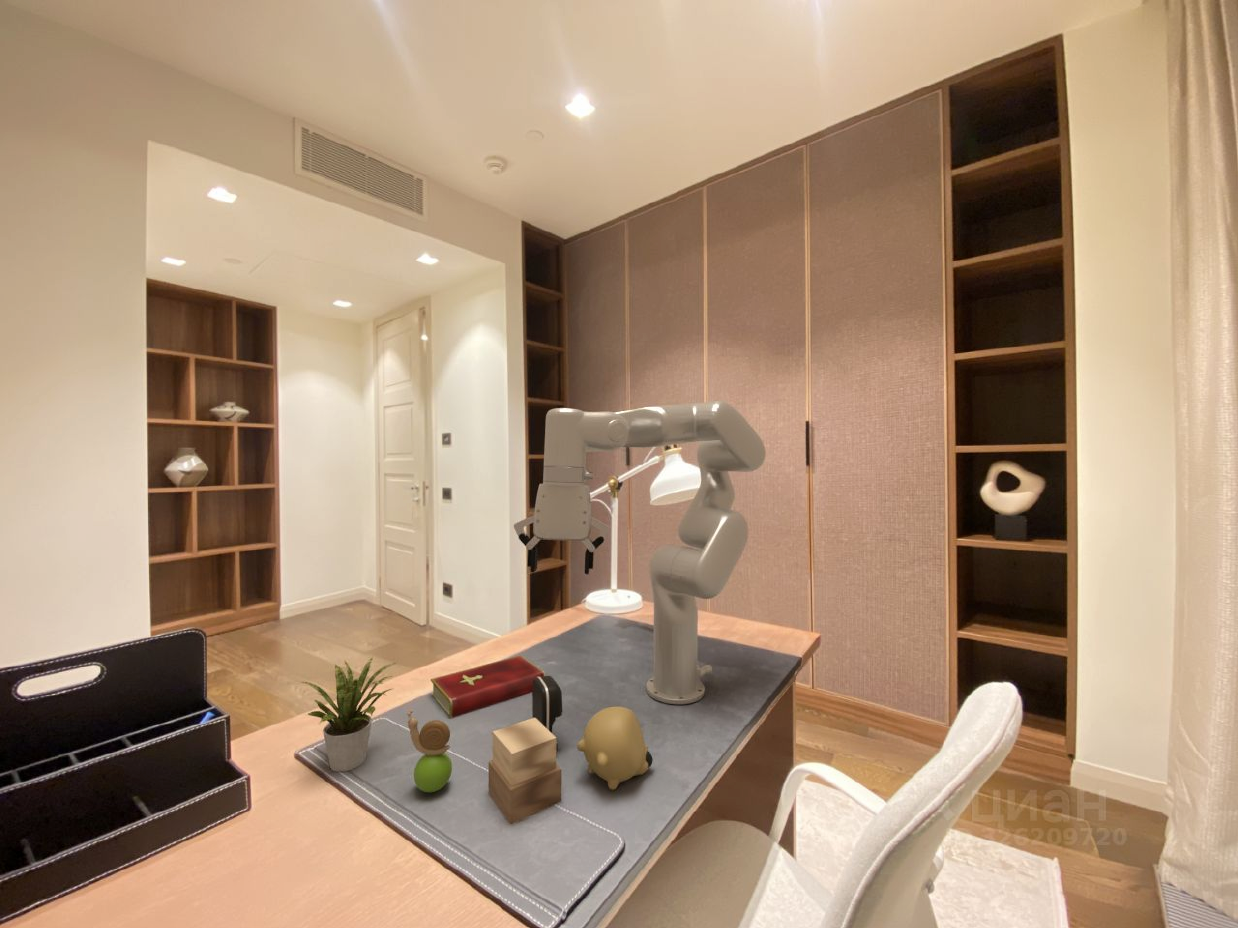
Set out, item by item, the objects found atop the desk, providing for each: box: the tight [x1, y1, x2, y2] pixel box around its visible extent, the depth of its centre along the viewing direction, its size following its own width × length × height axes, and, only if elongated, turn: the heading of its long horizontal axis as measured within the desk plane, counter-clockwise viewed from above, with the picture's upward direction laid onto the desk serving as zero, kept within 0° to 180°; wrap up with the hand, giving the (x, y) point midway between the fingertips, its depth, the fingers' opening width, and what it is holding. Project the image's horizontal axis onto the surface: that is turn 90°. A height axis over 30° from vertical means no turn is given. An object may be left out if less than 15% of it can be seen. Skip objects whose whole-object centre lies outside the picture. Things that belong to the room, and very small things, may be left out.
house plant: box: [299, 657, 397, 772], centre depth 81 cm, size 14×14×16 cm
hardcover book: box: [430, 654, 547, 719], centre depth 106 cm, size 12×21×4 cm, turn 128°
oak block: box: [492, 717, 557, 786], centre depth 73 cm, size 7×7×4 cm
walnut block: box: [488, 759, 562, 826], centre depth 73 cm, size 8×8×5 cm
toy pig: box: [576, 706, 654, 790], centre depth 78 cm, size 10×12×11 cm
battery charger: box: [531, 675, 563, 752], centre depth 86 cm, size 7×4×11 cm, turn 25°
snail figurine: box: [407, 709, 453, 793], centre depth 75 cm, size 5×6×12 cm
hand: (560, 571), depth 89 cm, fingers open, 9 cm apart
